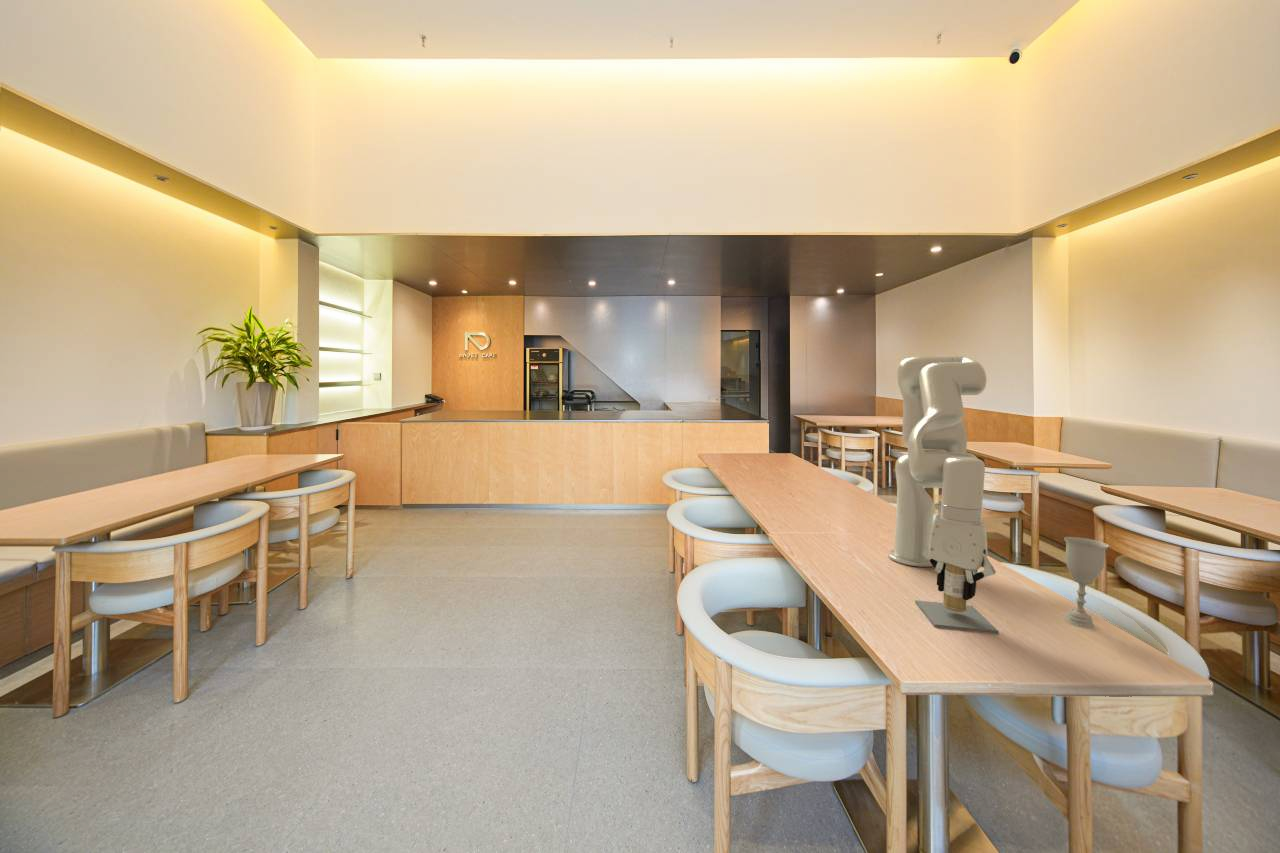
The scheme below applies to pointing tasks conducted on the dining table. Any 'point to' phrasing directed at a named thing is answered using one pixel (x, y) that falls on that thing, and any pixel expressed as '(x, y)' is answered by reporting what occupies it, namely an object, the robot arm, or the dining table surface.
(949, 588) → the sprinkles bottle
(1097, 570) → the chalice
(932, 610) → the slate mat
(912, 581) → the dining table surface
